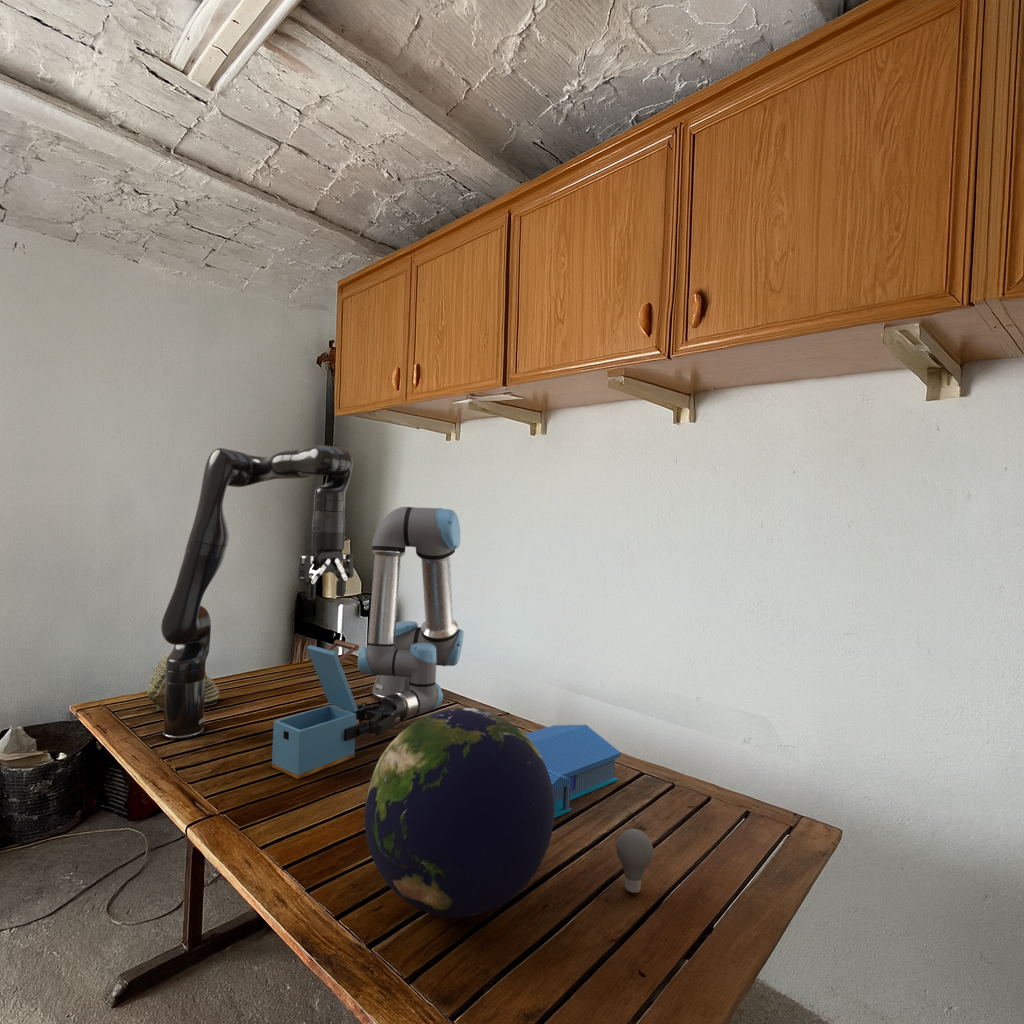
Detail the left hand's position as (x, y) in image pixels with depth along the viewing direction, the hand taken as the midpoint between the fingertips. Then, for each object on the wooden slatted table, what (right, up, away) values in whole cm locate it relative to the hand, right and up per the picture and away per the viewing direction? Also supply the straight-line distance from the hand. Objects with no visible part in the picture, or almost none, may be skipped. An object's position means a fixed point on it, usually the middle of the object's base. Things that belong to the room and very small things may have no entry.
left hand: (325, 597), depth 151 cm
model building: (+49, -42, -10) cm, 65 cm away
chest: (-3, -39, 0) cm, 39 cm away
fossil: (-52, -36, +34) cm, 71 cm away
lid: (0, -20, +2) cm, 21 cm away
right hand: (0, -33, +3) cm, 33 cm away
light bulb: (+65, -43, -46) cm, 90 cm away
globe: (+36, -42, -50) cm, 74 cm away
